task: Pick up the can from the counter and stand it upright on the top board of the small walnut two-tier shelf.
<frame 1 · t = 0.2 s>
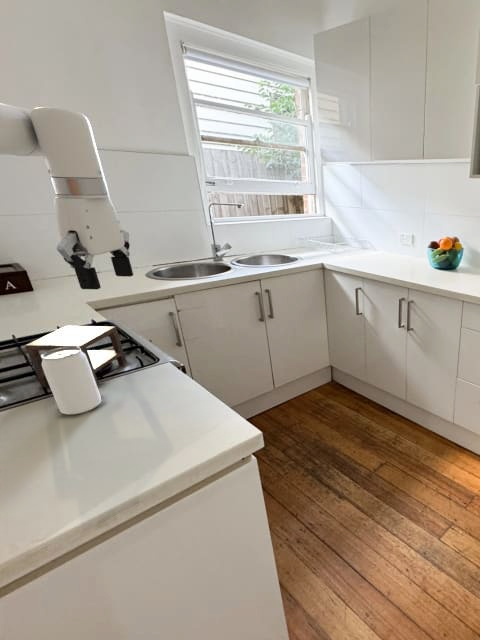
hand: (109, 282, 75), 23 cm above the worktop, tool pointing down, fingers open, 9 cm apart
can: (82, 407, 76), on the worktop
shelf: (87, 375, 87), on the worktop
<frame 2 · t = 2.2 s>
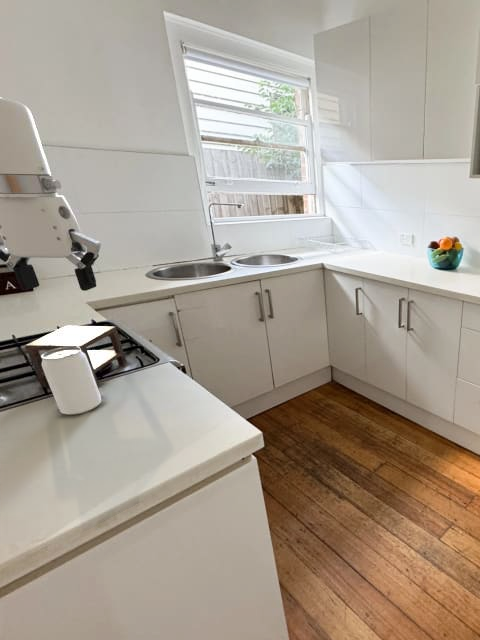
hand: (60, 288, 69), 24 cm above the worktop, tool pointing down, fingers open, 9 cm apart
nothing on the worktop moved.
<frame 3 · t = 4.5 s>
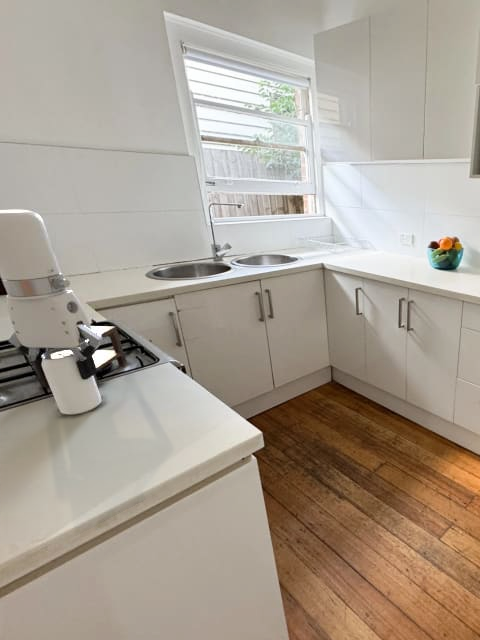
hand: (70, 375, 73), 7 cm above the worktop, tool pointing down, fingers closed on can, 6 cm apart
can: (82, 407, 76), on the worktop, touching gripper
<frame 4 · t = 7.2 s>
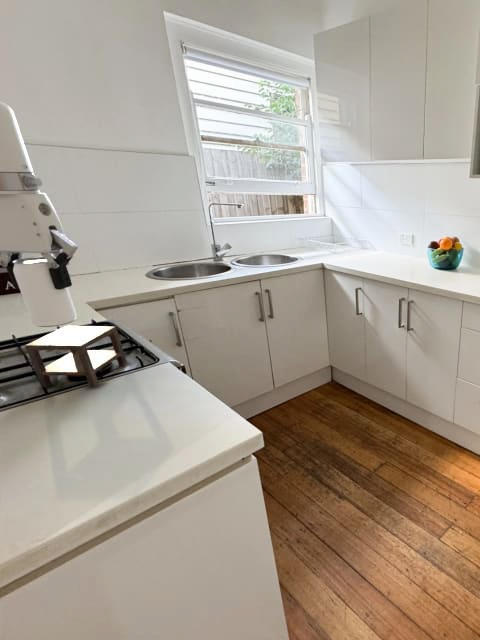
hand: (43, 286, 71), 23 cm above the worktop, tool pointing down, fingers closed on can, 6 cm apart
can: (56, 322, 74), point 16 cm above the worktop, touching gripper
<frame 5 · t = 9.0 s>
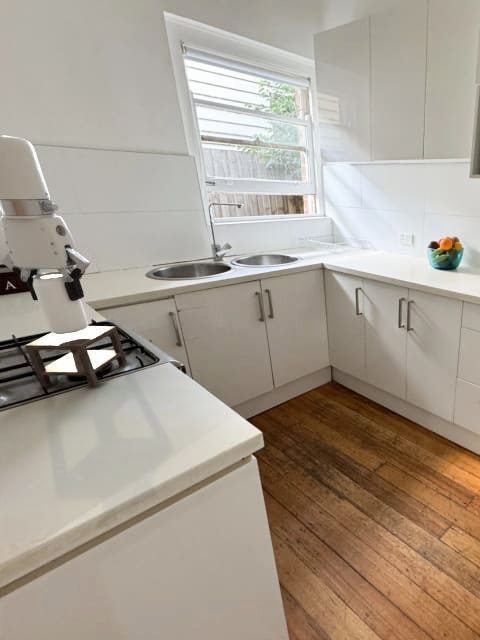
hand: (59, 298, 80), 18 cm above the worktop, tool pointing down, fingers closed on can, 6 cm apart
can: (70, 330, 83), point 11 cm above the worktop, touching gripper
when the fingers open (17 cm above the worktop, at t = 10.0 s): can stays where it is, resting on shelf.
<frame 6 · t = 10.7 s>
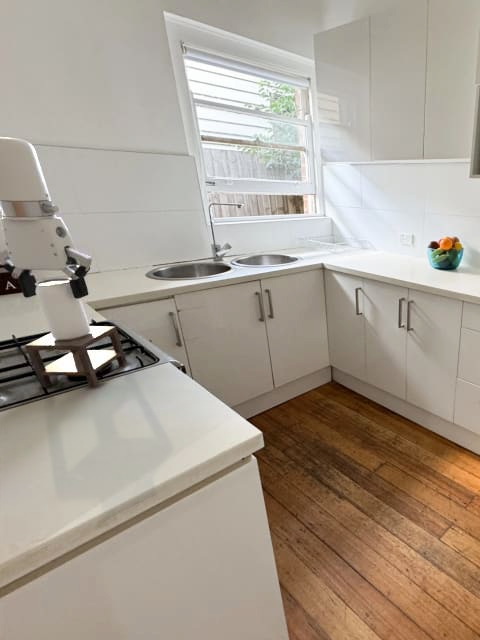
hand: (57, 296, 80), 19 cm above the worktop, tool pointing down, fingers open, 9 cm apart
can: (73, 335, 83), point 10 cm above the worktop, touching shelf
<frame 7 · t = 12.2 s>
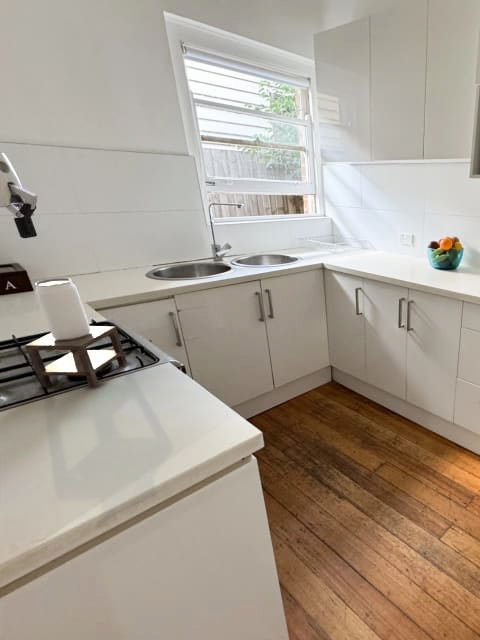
hand: (4, 236, 78), 30 cm above the worktop, tool pointing down, fingers open, 9 cm apart
nothing on the worktop moved.
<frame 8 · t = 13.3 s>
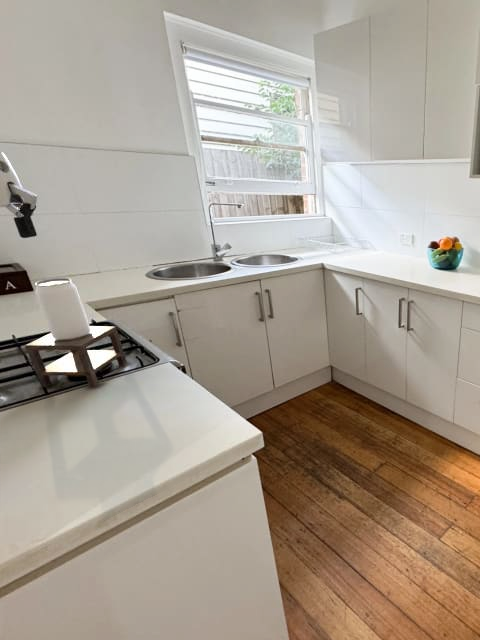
hand: (4, 236, 78), 30 cm above the worktop, tool pointing down, fingers open, 9 cm apart
nothing on the worktop moved.
at the end: can inside the target area on the shelf (0.1 cm from its centre), point 9.8 cm above the shelf's base; can tilted 0°; the gripper is holding nothing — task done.
